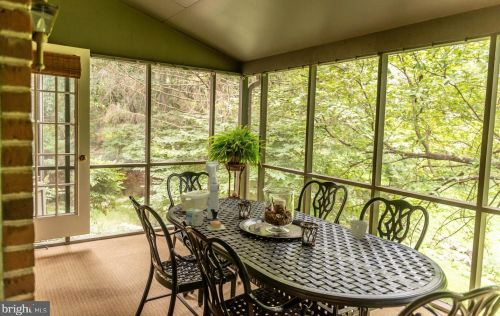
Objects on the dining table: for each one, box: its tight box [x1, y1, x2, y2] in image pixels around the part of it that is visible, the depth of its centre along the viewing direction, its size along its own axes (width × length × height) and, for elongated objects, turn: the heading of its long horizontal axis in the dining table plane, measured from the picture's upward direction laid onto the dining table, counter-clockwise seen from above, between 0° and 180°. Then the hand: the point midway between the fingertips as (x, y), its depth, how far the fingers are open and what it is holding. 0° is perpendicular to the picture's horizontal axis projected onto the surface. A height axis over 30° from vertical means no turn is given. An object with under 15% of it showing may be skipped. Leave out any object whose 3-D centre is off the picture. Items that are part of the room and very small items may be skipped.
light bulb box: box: [185, 208, 204, 227], centre depth 255 cm, size 11×7×11 cm, turn 68°
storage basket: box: [180, 189, 211, 212], centre depth 298 cm, size 24×16×15 cm
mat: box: [205, 224, 227, 232], centre depth 247 cm, size 10×12×1 cm
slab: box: [209, 220, 222, 228], centre depth 249 cm, size 3×6×7 cm
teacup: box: [348, 219, 369, 240], centre depth 225 cm, size 12×15×10 cm
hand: (214, 219), depth 251 cm, fingers closed
